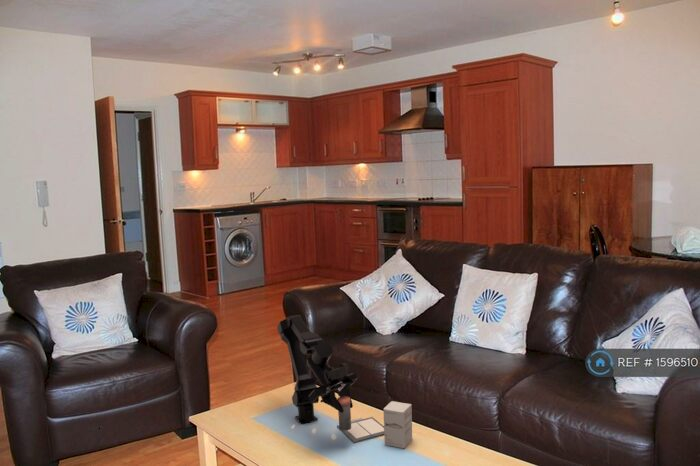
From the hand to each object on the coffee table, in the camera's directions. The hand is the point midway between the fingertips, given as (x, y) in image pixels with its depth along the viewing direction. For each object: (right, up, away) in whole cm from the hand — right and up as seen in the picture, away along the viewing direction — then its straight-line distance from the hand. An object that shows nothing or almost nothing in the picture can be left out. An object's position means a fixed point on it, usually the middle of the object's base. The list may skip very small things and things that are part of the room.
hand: (347, 409), depth 193 cm
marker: (-1, -7, +2) cm, 7 cm away
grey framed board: (+6, -11, +13) cm, 18 cm away
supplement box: (+17, -12, +3) cm, 21 cm away
